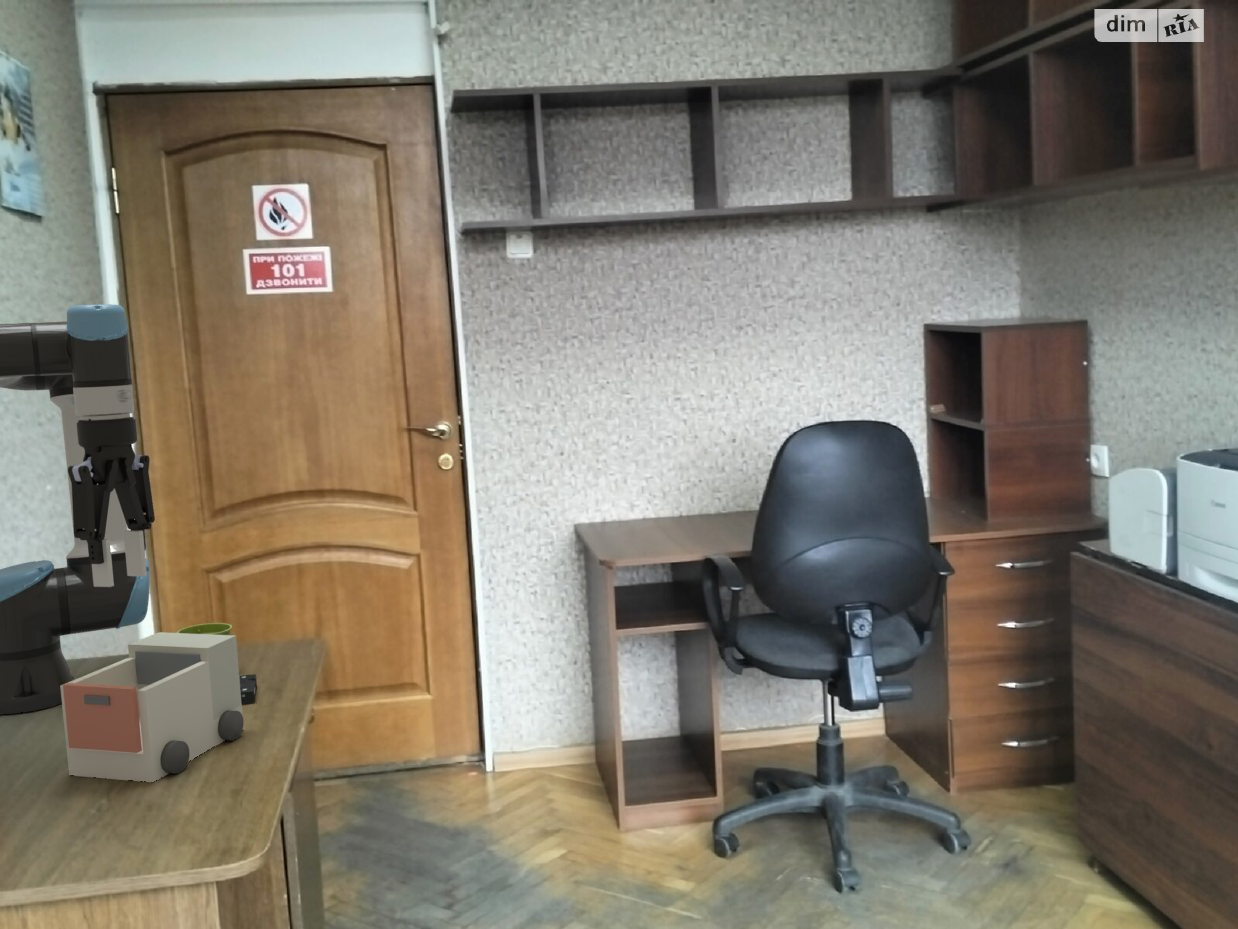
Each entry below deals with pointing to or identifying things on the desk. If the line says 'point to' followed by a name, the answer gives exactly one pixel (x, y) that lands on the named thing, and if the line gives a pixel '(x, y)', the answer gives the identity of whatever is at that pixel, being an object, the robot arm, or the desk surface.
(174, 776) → the desk surface
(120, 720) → the panel
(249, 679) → the disk drive
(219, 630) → the plant pot
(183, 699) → the truck
